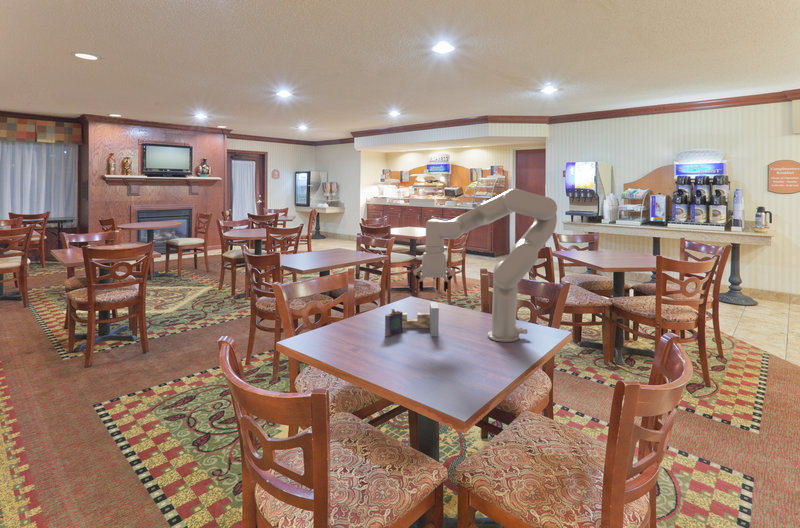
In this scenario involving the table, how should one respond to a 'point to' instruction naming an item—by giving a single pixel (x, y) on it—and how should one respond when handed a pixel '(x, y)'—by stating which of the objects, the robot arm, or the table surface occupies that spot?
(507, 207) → the robot arm
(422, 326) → the rail
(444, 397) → the table surface
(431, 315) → the flat gray plate
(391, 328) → the flask
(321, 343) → the table surface
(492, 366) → the table surface
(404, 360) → the table surface
